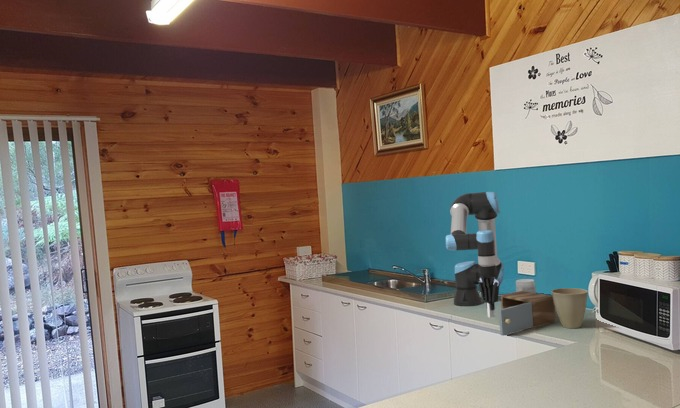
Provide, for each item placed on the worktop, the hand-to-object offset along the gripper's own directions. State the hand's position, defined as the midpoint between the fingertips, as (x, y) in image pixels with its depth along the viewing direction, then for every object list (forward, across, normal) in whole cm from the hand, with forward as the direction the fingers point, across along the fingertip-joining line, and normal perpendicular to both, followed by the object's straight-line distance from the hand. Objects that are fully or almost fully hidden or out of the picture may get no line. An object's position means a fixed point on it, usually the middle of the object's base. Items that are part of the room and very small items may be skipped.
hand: (491, 316), depth 241 cm
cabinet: (+7, +2, -25) cm, 26 cm away
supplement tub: (+7, +21, -43) cm, 49 cm away
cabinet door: (+6, -9, -7) cm, 13 cm away
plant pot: (+7, -18, -30) cm, 36 cm away
